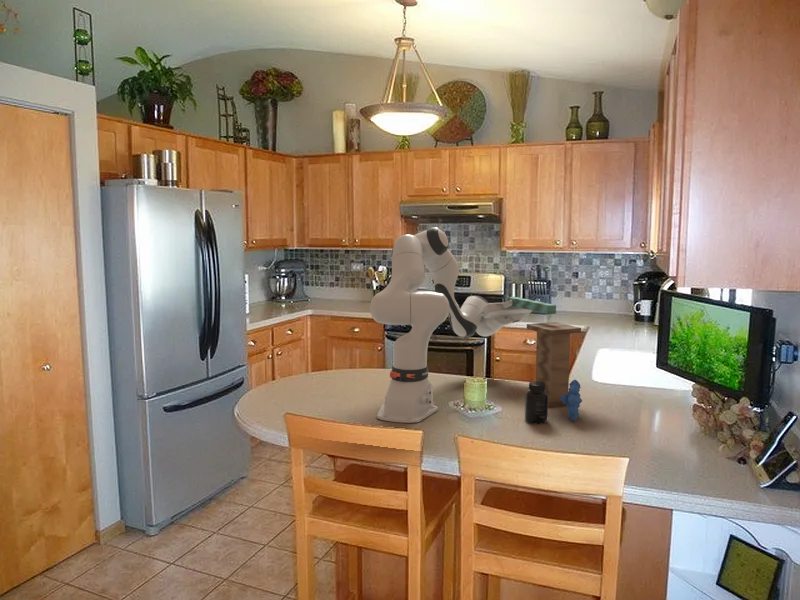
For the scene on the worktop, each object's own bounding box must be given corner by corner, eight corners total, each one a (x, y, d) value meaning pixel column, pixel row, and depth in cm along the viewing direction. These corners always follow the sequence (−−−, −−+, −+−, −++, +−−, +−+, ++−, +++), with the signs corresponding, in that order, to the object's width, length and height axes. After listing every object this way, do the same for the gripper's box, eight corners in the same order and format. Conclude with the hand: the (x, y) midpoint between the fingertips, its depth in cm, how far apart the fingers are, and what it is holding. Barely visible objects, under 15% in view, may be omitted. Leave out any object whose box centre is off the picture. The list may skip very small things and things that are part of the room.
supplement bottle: (520, 418, 185) (521, 381, 184) (539, 416, 187) (540, 379, 186) (532, 425, 179) (533, 386, 177) (552, 422, 181) (553, 384, 180)
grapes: (561, 411, 192) (562, 375, 191) (582, 413, 190) (583, 377, 189) (557, 422, 181) (558, 384, 180) (580, 425, 179) (581, 386, 178)
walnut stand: (525, 396, 209) (526, 324, 206) (553, 393, 213) (555, 321, 210) (549, 407, 196) (551, 330, 193) (578, 403, 201) (581, 328, 197)
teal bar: (507, 304, 225) (507, 297, 225) (513, 304, 227) (514, 296, 226) (548, 314, 202) (548, 305, 201) (555, 313, 203) (556, 305, 202)
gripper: (475, 309, 231) (491, 294, 219) (520, 306, 238) (538, 292, 226) (479, 324, 228) (495, 310, 216) (524, 320, 236) (542, 307, 224)
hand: (517, 301), depth 221 cm, fingers closed on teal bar, 3 cm apart
